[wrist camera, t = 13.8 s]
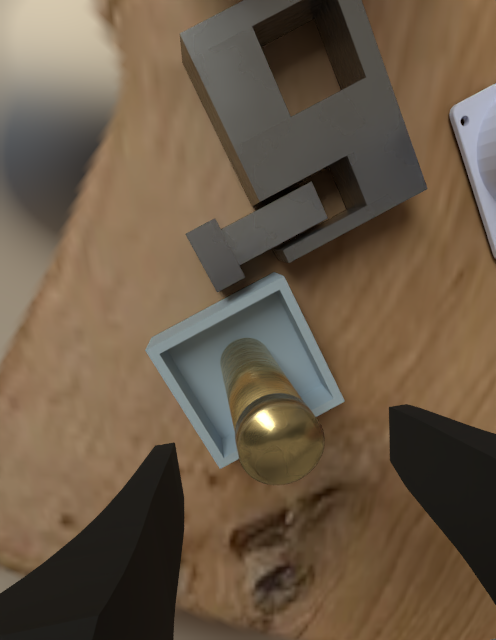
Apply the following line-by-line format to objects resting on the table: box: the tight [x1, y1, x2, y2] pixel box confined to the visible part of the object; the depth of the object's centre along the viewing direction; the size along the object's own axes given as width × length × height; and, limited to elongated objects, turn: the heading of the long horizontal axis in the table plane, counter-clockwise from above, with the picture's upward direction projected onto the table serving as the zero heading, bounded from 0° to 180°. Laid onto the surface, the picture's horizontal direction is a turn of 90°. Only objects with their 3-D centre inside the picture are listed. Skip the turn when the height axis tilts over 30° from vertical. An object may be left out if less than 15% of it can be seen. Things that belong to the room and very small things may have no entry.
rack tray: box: [145, 272, 344, 469], centre depth 21 cm, size 8×8×2 cm
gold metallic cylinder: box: [220, 338, 324, 485], centre depth 17 cm, size 3×3×9 cm
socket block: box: [180, 0, 427, 263], centre depth 18 cm, size 11×8×3 cm
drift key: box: [186, 181, 327, 292], centre depth 19 cm, size 3×7×3 cm, turn 117°
